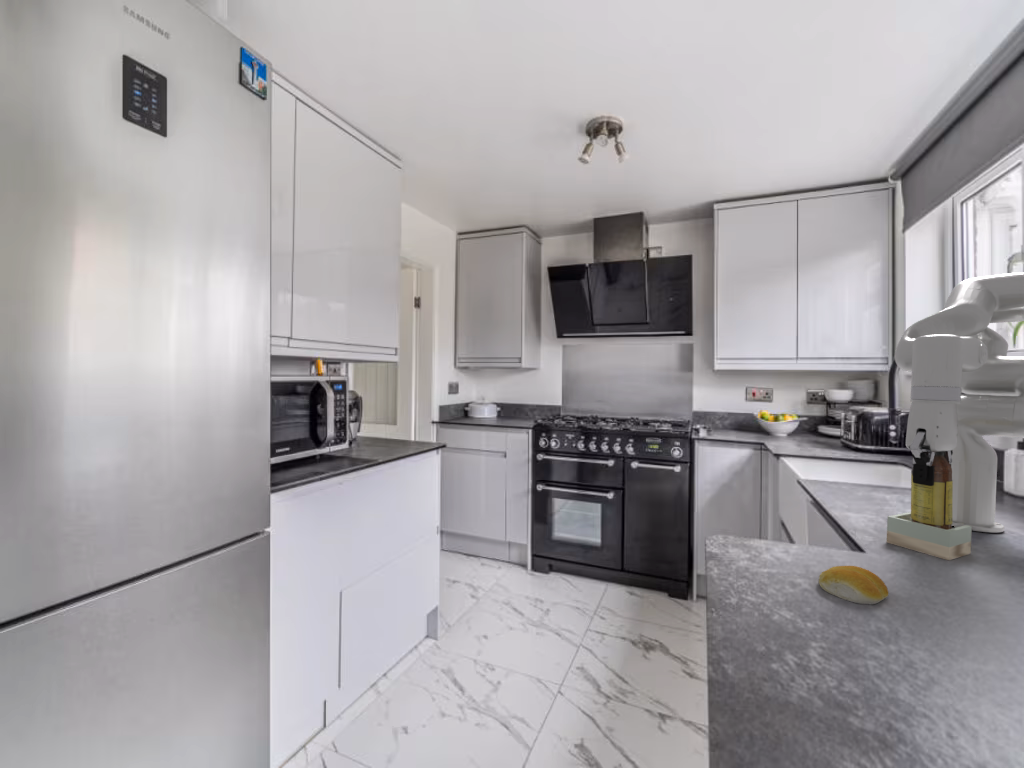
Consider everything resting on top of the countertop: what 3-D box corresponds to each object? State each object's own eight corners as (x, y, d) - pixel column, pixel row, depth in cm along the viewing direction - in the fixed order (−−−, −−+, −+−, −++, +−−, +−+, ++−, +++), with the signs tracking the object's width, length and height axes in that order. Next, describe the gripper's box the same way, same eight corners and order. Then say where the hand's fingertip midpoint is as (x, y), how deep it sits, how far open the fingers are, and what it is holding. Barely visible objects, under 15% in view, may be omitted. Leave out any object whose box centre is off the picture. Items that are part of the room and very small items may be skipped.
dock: (908, 537, 98) (909, 512, 98) (970, 553, 89) (971, 526, 89) (886, 542, 94) (887, 516, 94) (948, 560, 85) (950, 531, 85)
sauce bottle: (934, 525, 94) (938, 431, 94) (961, 535, 88) (965, 435, 88) (900, 523, 95) (905, 430, 95) (925, 533, 89) (929, 433, 89)
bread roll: (894, 596, 70) (895, 571, 70) (872, 611, 65) (873, 584, 65) (833, 576, 77) (834, 553, 77) (809, 588, 72) (810, 563, 72)
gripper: (932, 395, 98) (929, 476, 99) (890, 394, 91) (887, 482, 91) (979, 396, 92) (975, 484, 92) (938, 396, 84) (934, 491, 84)
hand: (931, 482), depth 92 cm, fingers closed on sauce bottle, 6 cm apart
